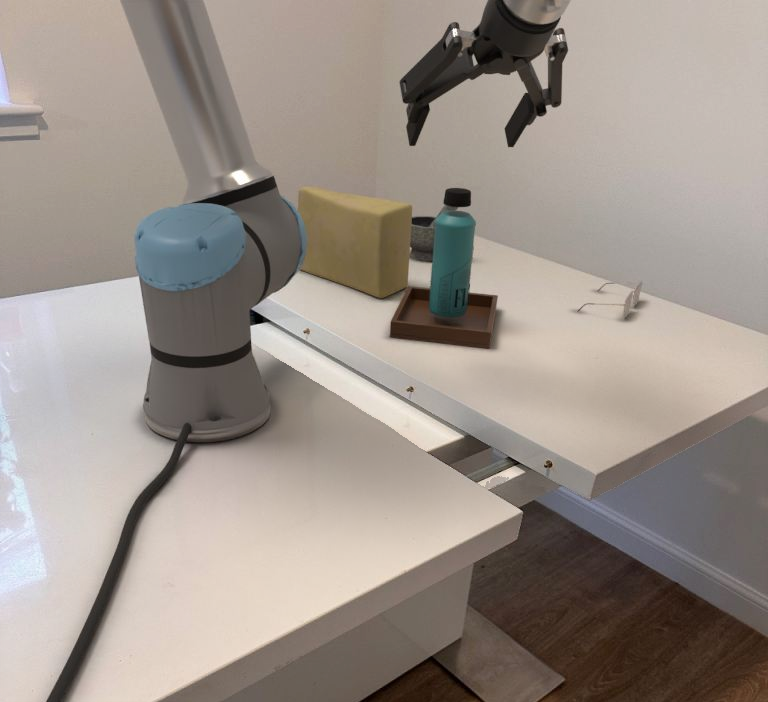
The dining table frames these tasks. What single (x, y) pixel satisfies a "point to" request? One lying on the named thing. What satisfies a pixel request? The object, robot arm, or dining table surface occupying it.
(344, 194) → the cheese
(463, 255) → the beverage bottle
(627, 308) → the eyeglasses
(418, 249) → the mortar and pestle
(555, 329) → the dining table surface
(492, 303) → the tray
